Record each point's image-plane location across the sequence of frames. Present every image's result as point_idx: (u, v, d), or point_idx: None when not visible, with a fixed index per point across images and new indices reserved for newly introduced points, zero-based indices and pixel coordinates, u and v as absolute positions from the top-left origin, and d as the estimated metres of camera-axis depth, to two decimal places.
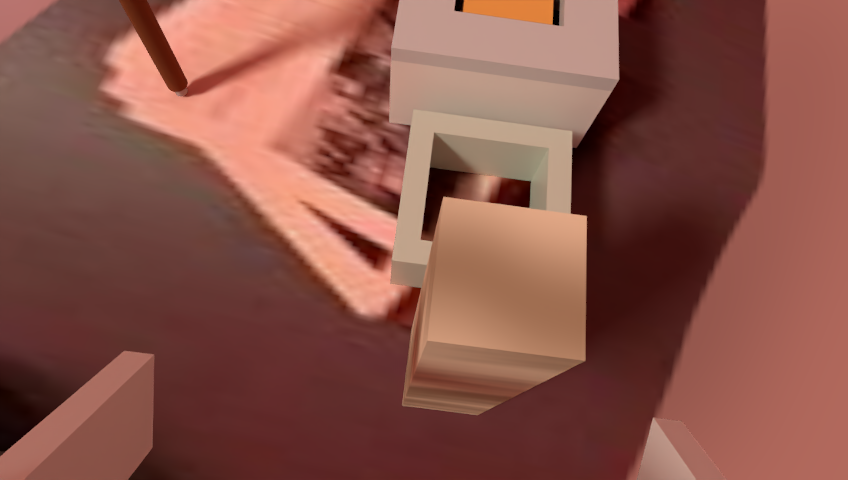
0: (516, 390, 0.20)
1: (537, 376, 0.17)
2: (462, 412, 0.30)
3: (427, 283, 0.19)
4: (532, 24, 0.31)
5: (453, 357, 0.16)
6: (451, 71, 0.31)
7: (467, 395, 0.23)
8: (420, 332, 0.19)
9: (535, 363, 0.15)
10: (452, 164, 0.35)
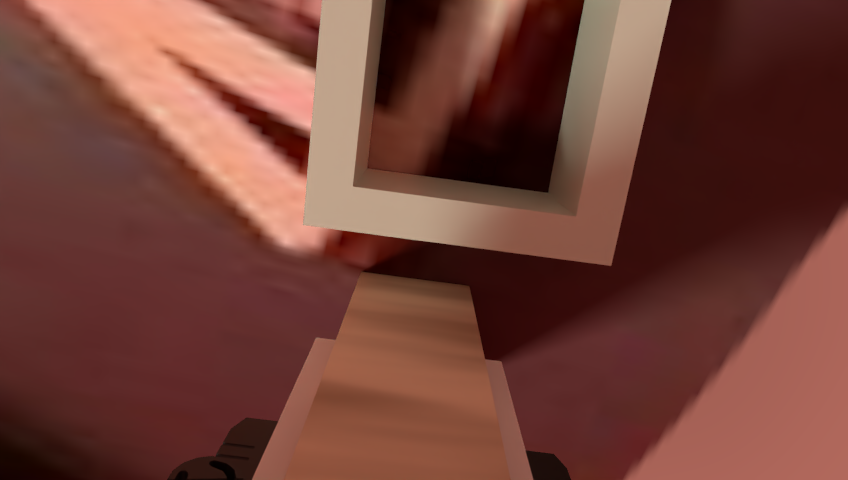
0: None
1: None
2: None
3: None
4: None
5: None
6: None
7: None
8: None
9: None
10: None
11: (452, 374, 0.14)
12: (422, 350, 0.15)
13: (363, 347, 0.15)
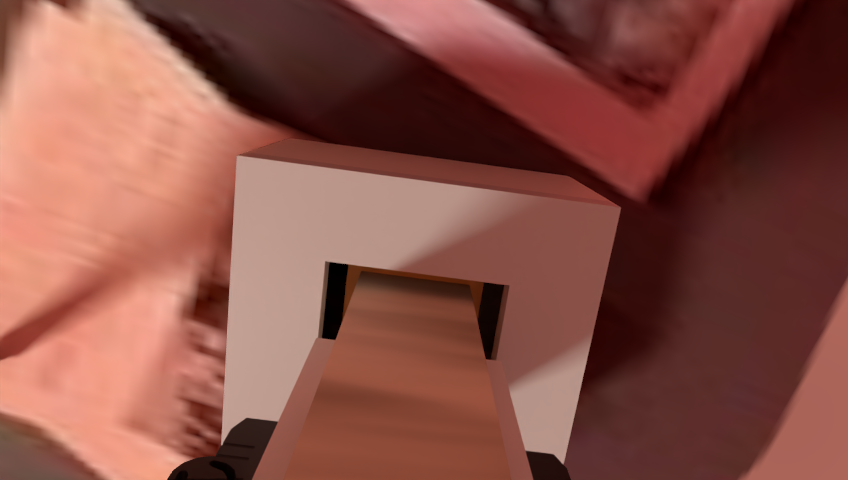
0: None
1: None
2: None
3: None
4: None
5: None
6: None
7: None
8: None
9: None
10: None
11: (452, 373, 0.14)
12: (422, 349, 0.15)
13: (362, 346, 0.15)
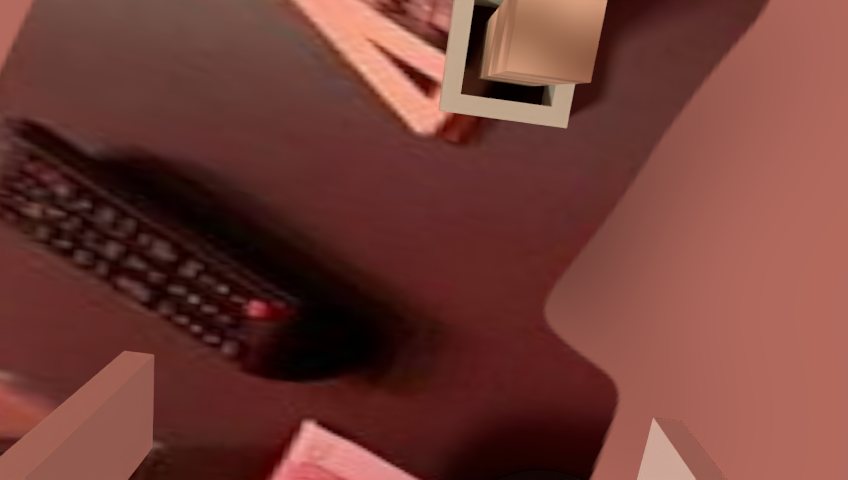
0: None
1: (566, 82, 0.30)
2: (518, 84, 0.43)
3: (506, 21, 0.30)
4: None
5: (519, 74, 0.29)
6: None
7: (524, 81, 0.36)
8: (499, 50, 0.31)
9: (564, 80, 0.28)
10: (491, 5, 0.41)
11: None
12: None
13: None
